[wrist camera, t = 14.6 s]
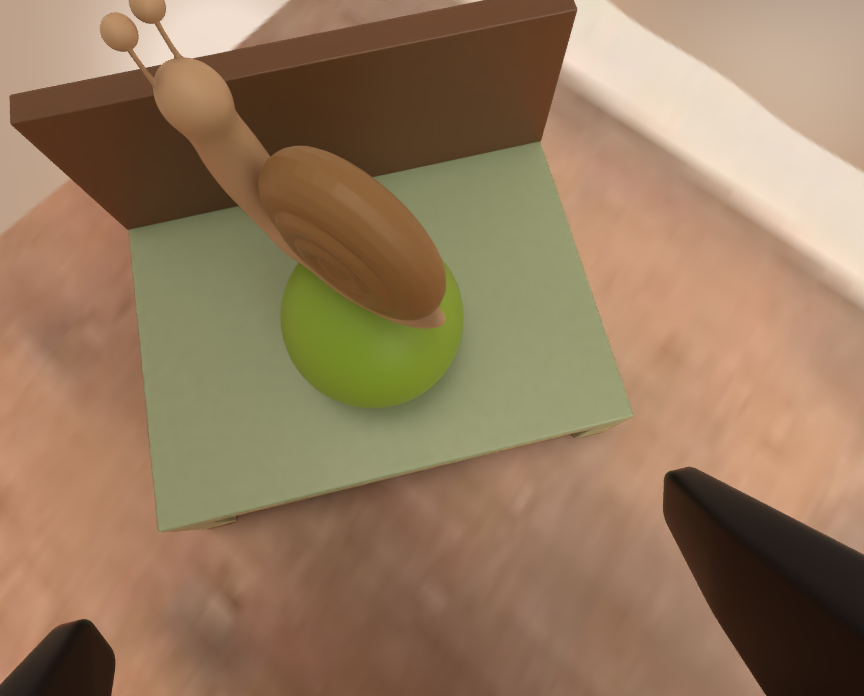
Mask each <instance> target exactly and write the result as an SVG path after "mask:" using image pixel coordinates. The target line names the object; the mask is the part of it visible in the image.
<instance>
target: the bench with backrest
mask: <svg viewBox="0 0 864 696" xmlns="http://www.w3.org/2000/svg"><path fill="white" fill-rule="evenodd" d="M576 13H577V7H576V5H575V2H574V0H483V1H478V2H473V3H468V4H463V5H458V6H453V7H448V8H443V9H438V10H433V11H428V12H423V13H418V14H413V15H408V16H403V17H398V18H393V19H388V20H383V21H378V22H373V23H368V24H363V25H358V26H353V27H348V28H343V29H338V30H333V31H328V32H323V33H318V34H313V35H308V36H303V37H298V38H293V39H288V40H283V41H278V42H273V43H268V44H263V45H258V46H253V47H248V48H243V49H238V50H233V51H228V52H223V53H218V54H213V55H208V56H203V57H198V58H193V59H195V60H198V61H201V62H203V63H205V64H207V65H208V66H210V67H211V68H212V69H214V70H215V71H216V72H217V73H218V74H219V75H220V76H221V77H222V78H223V80H224V81H225V82H226V84H227V86H228V88H229V89H230V92H231V94H232V97H233V101H234V106H235V110H236V112H237V113H238V115H239V116H240V117H241V119H242V120H243V121H244V122H245V124H246V125H247V126H248V127H249V129H250V130H251V131H252V132H253V134H254V135H255V136H256V138H257V139H258V140H259V142H260V143H261V144H262V146H263V147H264V148H265V150H266V151H267V153H268V154H269V156H270V157H271V156H272V155H273V154H275V153H276V152H278V151H280V150H281V149H283V148H287V147H292V146H310V147H314V148H317V149H321V150H324V151H327V152H330V153H332V154H335V155H337V156H339V157H341V158H343V159H345V160H347V161H349V162H350V163H352V164H354V165H355V166H357V167H358V168H360V169H362V170H363V171H365V172H366V173H367V174H369V175H370V176H371V177H373V178H374V179H375V180H377V181H378V182H379V183H381V184H382V185H383V186H384V187H385V188H387V189H388V190H389V191H390V192H391V193H392V194H393V195H395V196H396V197H397V198H398V199H399V200H400V201H401V202H402V203H403V204H404V205H405V206H406V207H407V208H408V209H409V211H410V212H411V213H412V214H413V215H414V216H415V217H416V219H417V220H418V221H419V222H420V223H421V225H422V226H423V227H424V229H425V230H426V232H427V233H428V235H429V236H430V237H431V239H432V241H433V242H434V244H435V246H436V248H437V250H438V252H439V254H440V256H441V258H442V259H443V261H444V262H445V263H446V265H447V266H448V267H449V269H450V271H451V272H452V274H453V276H454V278H455V280H456V282H457V285H458V288H459V291H460V294H461V298H462V303H463V313H464V322H463V332H462V337H461V341H460V345H459V348H458V350H457V353H456V355H455V357H454V359H453V361H452V363H451V365H450V366H449V368H448V369H447V371H446V372H445V373H444V375H443V376H442V377H441V378H440V379H439V380H438V381H437V382H436V383H435V384H434V385H433V386H432V387H431V388H430V389H428V390H427V391H426V392H424V393H423V394H421V395H419V396H418V397H416V398H414V399H412V400H410V401H408V402H405V403H402V404H399V405H395V406H391V407H385V408H360V407H354V406H350V405H346V404H343V403H340V402H338V401H335V400H333V399H331V398H329V397H327V396H326V395H324V394H322V393H321V392H319V391H318V390H317V389H315V388H314V387H313V386H312V385H311V384H310V383H309V382H308V381H307V380H306V379H305V378H304V377H303V376H302V375H301V374H300V372H299V371H298V370H297V368H296V367H295V365H294V364H293V362H292V360H291V358H290V356H289V354H288V352H287V349H286V346H285V343H284V340H283V335H282V330H281V304H282V298H283V294H284V290H285V287H286V284H287V282H288V280H289V277H290V275H291V274H292V272H293V270H294V268H295V267H296V265H297V264H298V263H299V262H297V261H296V260H294V259H293V258H291V257H290V256H288V255H287V254H286V253H284V252H283V251H282V250H281V249H280V248H279V247H278V246H277V245H276V244H275V243H274V242H273V241H272V240H271V239H270V238H269V237H268V236H267V234H266V233H265V232H264V231H263V230H262V229H261V228H260V227H259V226H258V225H257V224H256V223H255V222H254V221H253V220H252V219H251V218H250V217H249V216H248V215H247V214H246V213H245V212H244V211H243V210H242V209H241V208H240V206H239V205H238V204H237V203H236V202H235V201H234V200H233V199H232V198H231V197H230V196H229V195H228V194H227V193H226V192H225V190H224V189H223V188H222V187H221V186H220V184H219V183H218V182H217V181H216V179H215V178H214V177H213V176H212V174H211V173H210V171H209V170H208V169H207V167H206V166H205V164H204V163H203V161H202V159H201V158H200V156H199V154H198V153H197V151H196V149H195V148H194V146H193V145H192V143H191V142H190V141H189V140H188V139H187V138H186V137H185V136H184V135H183V134H182V133H180V132H179V131H178V130H177V129H175V128H174V127H173V126H172V125H171V124H170V123H169V122H168V121H167V120H166V119H165V117H164V116H163V115H162V113H161V112H160V110H159V108H158V106H157V104H156V101H155V98H154V93H153V86H152V84H151V83H150V81H149V80H148V79H147V78H146V76H145V75H144V73H143V72H142V71H141V69H138V70H133V71H128V72H123V73H118V74H113V75H108V76H103V77H98V78H93V79H88V80H82V81H77V82H73V83H67V84H62V85H58V86H52V87H47V88H42V89H37V90H32V91H27V92H23V93H18V94H13V95H10V123H11V125H12V126H13V127H15V129H17V130H18V131H19V132H20V133H21V134H22V135H23V136H24V137H26V139H28V140H29V141H30V142H31V143H32V144H33V145H34V146H35V147H37V148H38V149H39V150H40V151H41V152H42V153H43V154H44V155H45V156H46V157H48V158H49V159H50V160H51V161H52V162H53V163H54V164H55V165H56V166H58V167H59V168H60V169H61V170H62V171H63V172H64V173H65V174H66V175H67V176H69V177H70V178H71V179H72V180H73V181H74V182H75V183H76V184H77V185H79V186H80V187H81V188H82V189H83V190H84V191H85V192H86V193H87V194H88V195H90V196H91V197H92V198H93V199H94V200H95V201H96V202H97V203H98V204H100V205H101V206H102V207H103V208H104V209H105V210H106V211H107V212H108V213H110V214H111V215H112V216H113V217H114V218H115V219H116V220H117V221H118V222H119V223H121V224H122V225H123V226H124V227H125V228H126V229H128V230H129V240H130V250H131V260H132V270H133V281H134V291H135V301H136V311H137V321H138V332H139V342H140V352H141V362H142V372H143V383H144V393H145V403H146V413H147V423H148V433H149V444H150V454H151V464H152V474H153V484H154V495H155V505H156V515H157V525H158V531H159V532H172V531H187V530H200V529H209V528H213V527H217V526H221V525H225V524H230V523H234V522H236V516H238V515H242V514H246V513H250V512H254V511H258V510H263V509H267V508H271V507H275V506H279V505H283V504H287V503H291V502H295V501H299V500H303V499H308V498H312V497H316V496H320V495H324V494H328V493H332V492H336V491H340V490H344V489H348V488H353V487H357V486H361V485H365V484H369V483H373V482H377V481H381V480H385V479H389V478H393V477H397V476H402V475H406V474H410V473H414V472H418V471H422V470H426V469H430V468H434V467H438V466H442V465H447V464H451V463H455V462H459V461H463V460H467V459H471V458H475V457H479V456H483V455H487V454H492V453H496V452H500V451H504V450H508V449H512V448H516V447H520V446H524V445H528V444H532V443H537V442H541V441H545V440H549V439H553V438H557V437H561V436H565V435H569V434H573V437H574V438H580V437H584V436H588V435H592V434H596V433H600V432H602V431H605V430H607V429H609V428H611V427H613V426H615V425H617V424H619V423H621V422H623V421H625V420H627V419H629V418H631V417H633V411H632V408H631V405H630V403H629V400H628V397H627V394H626V391H625V388H624V385H623V382H622V379H621V376H620V373H619V370H618V367H617V364H616V362H615V359H614V356H613V353H612V350H611V347H610V344H609V341H608V338H607V335H606V332H605V329H604V326H603V323H602V321H601V318H600V315H599V312H598V309H597V306H596V303H595V300H594V297H593V294H592V291H591V288H590V285H589V282H588V280H587V277H586V274H585V271H584V268H583V265H582V262H581V259H580V256H579V253H578V250H577V247H576V244H575V241H574V239H573V236H572V233H571V230H570V227H569V224H568V221H567V218H566V215H565V212H564V209H563V206H562V203H561V200H560V197H559V195H558V192H557V189H556V186H555V183H554V180H553V177H552V174H551V171H550V168H549V165H548V162H547V159H546V156H545V154H544V151H543V148H542V145H541V142H540V141H541V139H542V135H543V132H544V128H545V125H546V121H547V117H548V114H549V110H550V106H551V103H552V99H553V96H554V92H555V88H556V85H557V81H558V78H559V74H560V70H561V67H562V63H563V60H564V56H565V52H566V49H567V45H568V41H569V38H570V34H571V31H572V27H573V23H574V20H575V16H576ZM160 66H161V65H158V66H153V67H148V68H146V69H147V70H148V72H149V73H150V74H151V75H152V76H153V77H155V74H156V72H157V70H158V68H159V67H160Z"/></svg>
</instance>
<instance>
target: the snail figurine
mask: <svg viewBox="0 0 864 696" xmlns="http://www.w3.org/2000/svg"><path fill="white" fill-rule="evenodd" d="M129 6H130V8H131V11H132V12H133V14H134V15H135V16H136V17H137V18H138V19H139V20H141V21H143V22H145V23H149V24H154V23H155V25H156V27H157V28H158V30H159V32H160V33H161V35H162V37H163V38H164V40H165V42H166V43H167V45H168V47H169V48H170V50H171V52H172V53H173V54H174V59H171V60H168V61H166V62H165V63H163V64H162V65H161V66H160V67H159V68H158V70H157V72H156V74H155V77H153V76H152V75H151V74H150V73H149V72H148V70H147V69H146V68H145V67H144V65H143V64H142V63H141V61H140V60H139V59H138V57H137V56H136V54H135V53H134V51H133V48H134V47H135V46H136V45H137V42H138V31H137V28H136V26H135V24H134V23H133V22H132V21H131V20H130V19H129V18H128V17H127V16H125V15H123V14H121V13H110V14H108V15H106V16H105V17H104V18H103V19H102V21H101V24H100V32H101V36H102V38H103V40H104V42H105V43H106V44H107V45H108V46H109V47H111V48H112V49H114V50H117V51H121V52H125V51H128V53H129V54H130V55H131V57H132V58H133V60H134V61H135V62H136V64H137V65H138V67H139V68H140V69H141V71H142V72H143V73H144V75H145V76H146V78H147V79H148V80H149V81H150V83H151V84H152V86H153V93H154V98H155V101H156V104H157V106H158V108H159V110H160V112H161V113H162V115H163V116H164V117H165V119H166V120H167V121H168V122H169V123H170V124H171V125H172V126H173V127H174V128H175V129H177V130H178V131H179V132H180V133H182V134H183V135H184V136H185V137H186V138H187V139H188V140H189V141H190V142H191V143H192V145H193V146H194V148H195V149H196V151H197V153H198V154H199V156H200V158H201V159H202V161H203V163H204V164H205V166H206V167H207V169H208V170H209V171H210V173H211V174H212V176H213V177H214V178H215V179H216V181H217V182H218V183H219V184H220V186H221V187H222V188H223V189H224V190H225V192H226V193H227V194H228V195H229V196H230V197H231V198H232V199H233V200H234V201H235V202H236V203H237V204H238V205H239V206H240V208H241V209H242V210H243V211H244V212H245V213H246V214H247V215H248V216H249V217H250V218H251V219H252V220H253V221H254V222H255V223H256V224H257V225H258V226H259V227H260V228H261V229H262V230H263V231H264V232H265V233H266V234H267V236H268V237H269V238H270V239H271V240H272V241H273V242H274V243H275V244H276V245H277V246H278V247H279V248H280V249H281V250H282V251H283V252H284V253H286V254H287V255H288V256H290V257H291V258H293V259H294V260H296V261H297V262H299V263H298V264H297V265H296V267H295V268H294V270H293V272H292V274H291V275H290V277H289V280H288V282H287V284H286V287H285V290H284V294H283V298H282V304H281V330H282V335H283V340H284V343H285V346H286V349H287V352H288V354H289V356H290V358H291V360H292V362H293V364H294V365H295V367H296V368H297V370H298V371H299V372H300V374H301V375H302V376H303V377H304V378H305V379H306V380H307V381H308V382H309V383H310V384H311V385H312V386H313V387H314V388H315V389H317V390H318V391H319V392H321V393H322V394H324V395H326V396H327V397H329V398H331V399H333V400H335V401H338V402H340V403H343V404H346V405H350V406H354V407H360V408H385V407H391V406H395V405H399V404H402V403H405V402H408V401H410V400H412V399H414V398H416V397H418V396H419V395H421V394H423V393H424V392H426V391H427V390H428V389H430V388H431V387H432V386H433V385H434V384H435V383H436V382H437V381H438V380H439V379H440V378H441V377H442V376H443V375H444V373H445V372H446V371H447V369H448V368H449V366H450V365H451V363H452V361H453V359H454V357H455V355H456V353H457V350H458V348H459V345H460V341H461V337H462V332H463V322H464V313H463V303H462V298H461V294H460V291H459V288H458V285H457V282H456V280H455V278H454V276H453V274H452V272H451V271H450V269H449V267H448V266H447V265H446V263H445V262H444V261H443V259H442V258H441V256H440V254H439V252H438V250H437V248H436V246H435V244H434V242H433V241H432V239H431V237H430V236H429V235H428V233H427V232H426V230H425V229H424V227H423V226H422V225H421V223H420V222H419V221H418V220H417V219H416V217H415V216H414V215H413V214H412V213H411V212H410V211H409V209H408V208H407V207H406V206H405V205H404V204H403V203H402V202H401V201H400V200H399V199H398V198H397V197H396V196H395V195H393V194H392V193H391V192H390V191H389V190H388V189H387V188H385V187H384V186H383V185H382V184H381V183H379V182H378V181H377V180H375V179H374V178H373V177H371V176H370V175H369V174H367V173H366V172H365V171H363V170H362V169H360V168H358V167H357V166H355V165H354V164H352V163H350V162H349V161H347V160H345V159H343V158H341V157H339V156H337V155H335V154H332V153H330V152H327V151H324V150H321V149H317V148H314V147H310V146H292V147H287V148H283V149H281V150H280V151H278V152H276V153H275V154H273V155H272V156H271V157H270V156H269V154H268V153H267V151H266V150H265V148H264V147H263V146H262V144H261V143H260V142H259V140H258V139H257V138H256V136H255V135H254V134H253V132H252V131H251V130H250V129H249V127H248V126H247V125H246V124H245V122H244V121H243V120H242V119H241V117H240V116H239V115H238V113H237V112H236V110H235V106H234V101H233V97H232V94H231V92H230V89H229V88H228V86H227V84H226V82H225V81H224V80H223V78H222V77H221V76H220V75H219V74H218V73H217V72H216V71H215V70H214V69H212V68H211V67H210V66H208V65H207V64H205V63H203V62H201V61H198V60H195V59H191V58H184V57H183V56H181V55H180V54H179V52H178V51H177V50H176V48H175V47H174V45H173V44H172V43H171V41H170V39H169V38H168V36H167V34H166V33H165V31H164V29H163V28H162V25H161V24H160V22H159V21H161V20H162V18H163V17H164V16H165V12H166V5H165V1H164V0H129Z"/></svg>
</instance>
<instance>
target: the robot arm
mask: <svg viewBox="0 0 864 696" xmlns="http://www.w3.org/2000/svg"><path fill="white" fill-rule="evenodd" d="M663 513H664V517H665V520H666V523H667V525H668V527H669V529H670V531H671V533H672V535H673V537H674V539H675V541H676V543H677V545H678V547H679V549H680V551H681V553H682V554H683V556H684V558H685V560H686V562H687V564H688V566H689V568H690V570H691V572H692V574H693V576H694V578H695V580H696V582H697V584H698V586H699V587H700V589H701V591H702V593H703V595H704V597H705V599H706V601H707V603H708V605H709V606H710V608H711V610H712V612H713V614H714V616H715V617H716V619H717V620H718V622H719V624H720V625H721V627H722V628H723V630H724V632H725V633H726V635H727V636H728V638H729V639H730V641H731V642H732V644H733V645H734V647H735V648H736V650H737V652H738V653H739V655H740V656H741V658H742V659H743V661H744V662H745V664H746V665H747V667H748V668H749V670H750V671H751V673H752V675H753V676H754V678H755V679H756V681H757V682H758V684H759V685H760V687H761V688H762V690H763V691H764V693H765V694H766V696H864V555H863V554H862V553H860V552H858V551H856V550H854V549H852V548H850V547H848V546H846V545H844V544H842V543H840V542H838V541H836V540H834V539H832V538H830V537H828V536H827V535H825V534H823V533H821V532H819V531H817V530H815V529H813V528H811V527H809V526H807V525H805V524H803V523H801V522H799V521H797V520H795V519H793V518H791V517H790V516H788V515H786V514H784V513H782V512H780V511H778V510H776V509H774V508H772V507H770V506H768V505H766V504H764V503H762V502H760V501H758V500H756V499H754V498H753V497H751V496H749V495H747V494H745V493H743V492H741V491H739V490H737V489H735V488H733V487H731V486H729V485H727V484H725V483H723V482H721V481H719V480H717V479H716V478H714V477H712V476H710V475H708V474H706V473H704V472H702V471H700V470H698V469H696V468H693V467H685V468H681V469H677V470H673V471H669V472H668V473H666V475H665V477H664V493H663ZM114 673H115V655H114V652H113V650H112V648H111V647H110V645H109V644H108V643H107V641H106V640H105V639H104V637H103V636H102V635H101V633H100V632H99V631H98V629H97V628H96V627H95V625H94V624H93V623H92V622H91V621H89V620H87V619H81V620H77V621H73V622H69V623H66V624H62V625H59V626H57V627H56V628H54V629H53V630H52V631H51V632H50V633H49V634H48V635H47V636H46V637H45V638H44V639H43V640H42V641H41V642H40V644H39V645H38V646H37V647H36V648H35V649H34V650H33V651H32V652H31V653H30V654H29V655H28V656H27V657H26V658H25V659H24V660H23V661H22V662H21V663H20V664H19V666H18V667H17V668H16V669H15V670H14V671H13V672H12V673H11V674H10V675H9V676H8V677H7V678H6V679H5V680H4V681H3V682H2V683H1V684H0V696H111V693H112V687H113V680H114Z"/></svg>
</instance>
